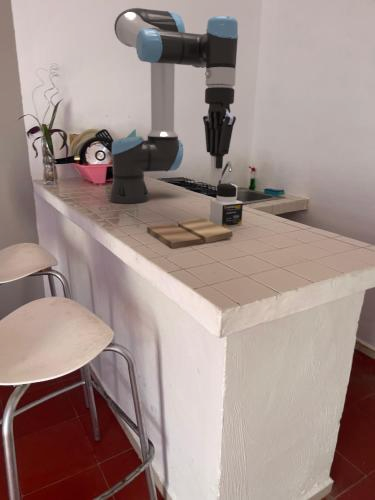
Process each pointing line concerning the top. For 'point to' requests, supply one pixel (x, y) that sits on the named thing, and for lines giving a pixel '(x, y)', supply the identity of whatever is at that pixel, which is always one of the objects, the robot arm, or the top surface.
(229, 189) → the medicine bottle
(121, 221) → the top surface
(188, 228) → the plank
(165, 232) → the laid board
